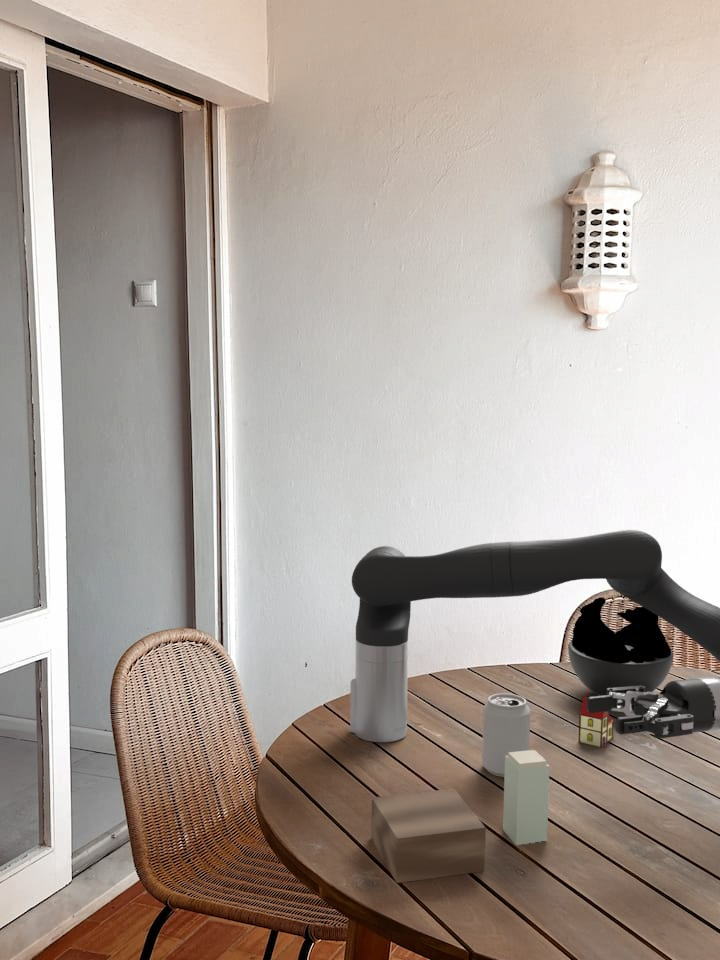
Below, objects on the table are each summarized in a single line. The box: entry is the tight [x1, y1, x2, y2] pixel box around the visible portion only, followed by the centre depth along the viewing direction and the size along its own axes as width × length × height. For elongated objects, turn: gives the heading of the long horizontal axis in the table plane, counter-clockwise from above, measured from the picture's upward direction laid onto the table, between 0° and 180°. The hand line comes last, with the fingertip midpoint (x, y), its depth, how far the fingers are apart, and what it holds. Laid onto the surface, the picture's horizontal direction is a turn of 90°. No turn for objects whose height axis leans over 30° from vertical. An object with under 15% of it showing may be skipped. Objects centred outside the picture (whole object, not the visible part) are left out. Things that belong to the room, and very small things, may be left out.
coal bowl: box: [567, 596, 674, 700], centre depth 194 cm, size 20×20×19 cm
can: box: [481, 693, 531, 778], centre depth 160 cm, size 8×8×12 cm
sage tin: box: [502, 749, 550, 846], centre depth 138 cm, size 5×5×12 cm
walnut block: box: [370, 788, 487, 884], centre depth 133 cm, size 12×12×6 cm
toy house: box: [577, 696, 614, 749], centre depth 173 cm, size 6×7×8 cm
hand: (601, 715), depth 139 cm, fingers open, 8 cm apart
